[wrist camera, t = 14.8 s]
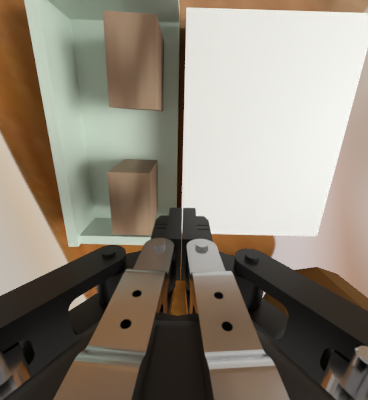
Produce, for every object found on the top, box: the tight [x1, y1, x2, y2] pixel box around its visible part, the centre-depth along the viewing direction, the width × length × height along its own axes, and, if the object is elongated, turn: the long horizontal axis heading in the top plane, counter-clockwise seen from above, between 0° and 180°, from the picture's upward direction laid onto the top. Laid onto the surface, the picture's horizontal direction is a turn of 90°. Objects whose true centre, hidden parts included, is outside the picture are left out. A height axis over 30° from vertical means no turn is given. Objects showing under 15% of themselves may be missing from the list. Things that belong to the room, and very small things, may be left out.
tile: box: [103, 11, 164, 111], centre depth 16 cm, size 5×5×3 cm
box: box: [24, 0, 180, 247], centre depth 18 cm, size 18×9×4 cm, turn 179°
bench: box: [182, 7, 368, 236], centre depth 19 cm, size 16×12×4 cm
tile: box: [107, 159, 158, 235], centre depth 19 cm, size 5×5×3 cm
